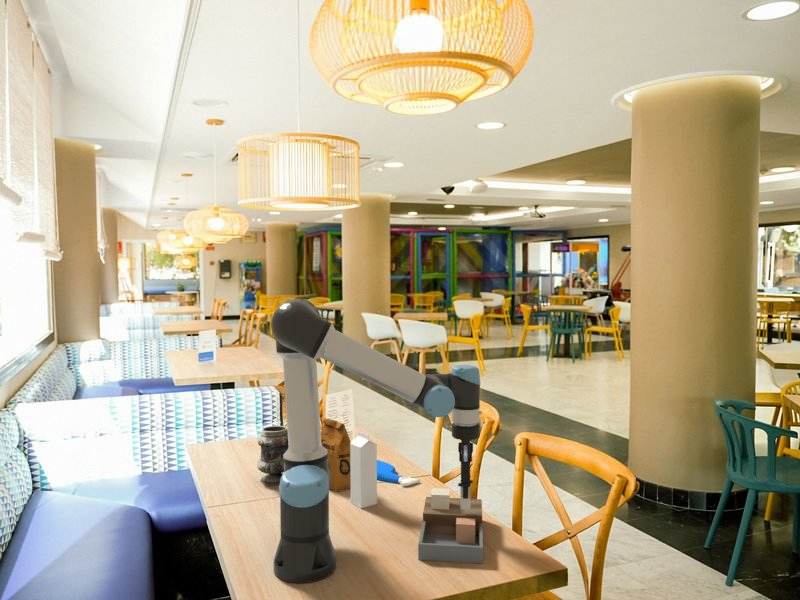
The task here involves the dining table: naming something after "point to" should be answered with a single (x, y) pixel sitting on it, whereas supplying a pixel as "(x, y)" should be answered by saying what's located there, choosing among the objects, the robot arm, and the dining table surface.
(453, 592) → the dining table surface
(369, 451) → the milk
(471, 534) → the salmon orange block
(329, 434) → the coffee package
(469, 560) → the box
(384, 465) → the spray bottle
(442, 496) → the cream block
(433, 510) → the block
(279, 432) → the dark stone vase
